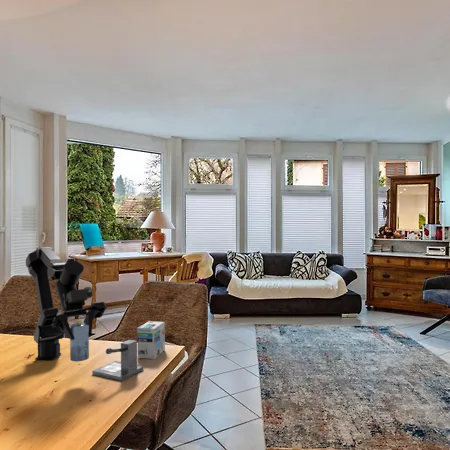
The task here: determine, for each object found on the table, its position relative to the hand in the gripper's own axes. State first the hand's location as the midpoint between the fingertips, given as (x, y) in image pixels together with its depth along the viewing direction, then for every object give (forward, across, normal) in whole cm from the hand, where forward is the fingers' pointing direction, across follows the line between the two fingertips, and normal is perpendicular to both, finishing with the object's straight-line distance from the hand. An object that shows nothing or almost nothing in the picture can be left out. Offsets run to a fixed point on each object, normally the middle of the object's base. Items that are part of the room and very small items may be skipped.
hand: (81, 337), depth 115 cm
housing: (+4, 0, +6) cm, 7 cm away
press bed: (+10, +10, +9) cm, 17 cm away
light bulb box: (+4, +29, +16) cm, 34 cm away
